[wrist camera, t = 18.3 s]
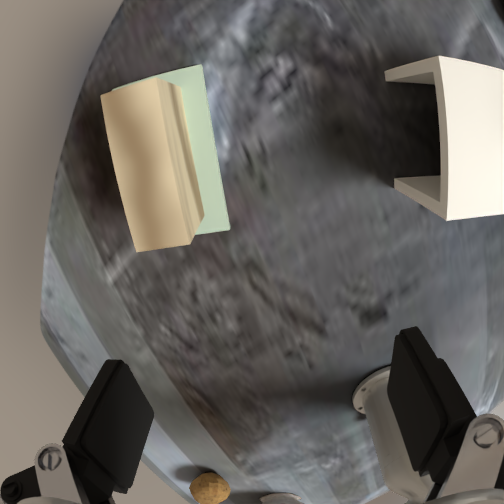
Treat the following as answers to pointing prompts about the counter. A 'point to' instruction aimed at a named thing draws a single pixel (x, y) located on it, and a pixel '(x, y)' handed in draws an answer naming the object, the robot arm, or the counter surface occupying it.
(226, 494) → the potato
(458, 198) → the block
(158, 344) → the counter surface
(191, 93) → the mat
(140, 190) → the wooden block
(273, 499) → the ceramic pitcher
